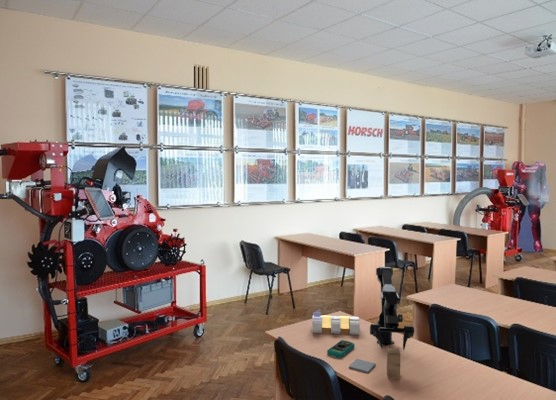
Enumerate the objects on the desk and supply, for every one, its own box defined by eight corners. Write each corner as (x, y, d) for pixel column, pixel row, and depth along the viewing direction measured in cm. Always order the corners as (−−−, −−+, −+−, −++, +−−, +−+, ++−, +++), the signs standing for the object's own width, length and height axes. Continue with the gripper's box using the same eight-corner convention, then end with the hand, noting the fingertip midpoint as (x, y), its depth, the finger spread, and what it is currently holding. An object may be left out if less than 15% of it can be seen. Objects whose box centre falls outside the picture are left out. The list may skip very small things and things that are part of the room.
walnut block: (386, 372, 182) (387, 347, 181) (398, 373, 181) (399, 348, 181) (388, 378, 177) (388, 352, 176) (400, 379, 176) (400, 353, 176)
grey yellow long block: (312, 333, 227) (312, 310, 226) (313, 326, 237) (313, 304, 236) (359, 335, 223) (359, 311, 223) (358, 328, 234) (358, 305, 233)
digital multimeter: (355, 348, 208) (355, 342, 208) (341, 359, 196) (341, 353, 196) (341, 344, 213) (341, 338, 213) (326, 355, 200) (326, 349, 200)
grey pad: (356, 360, 194) (356, 358, 194) (375, 365, 189) (375, 363, 189) (348, 368, 186) (348, 366, 186) (368, 373, 181) (368, 371, 181)
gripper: (370, 306, 187) (371, 339, 177) (414, 308, 184) (417, 342, 174) (369, 317, 196) (370, 350, 185) (410, 319, 193) (414, 353, 182)
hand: (392, 349), depth 182 cm, fingers open, 9 cm apart
